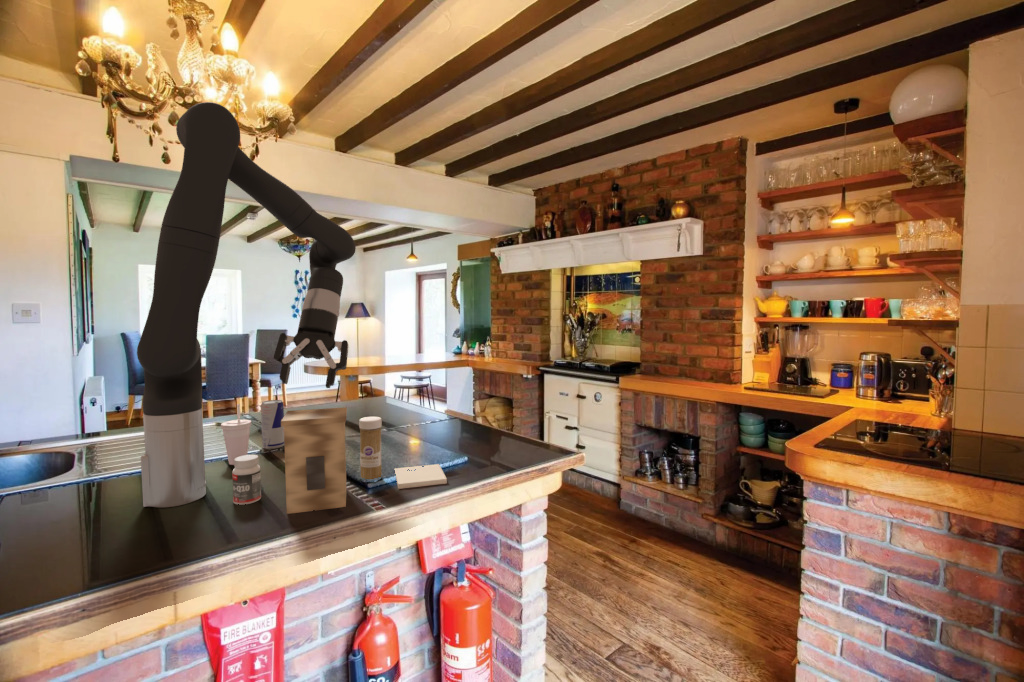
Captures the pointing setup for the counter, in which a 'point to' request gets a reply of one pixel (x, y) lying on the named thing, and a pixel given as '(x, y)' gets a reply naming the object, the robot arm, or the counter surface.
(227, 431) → the smoothie
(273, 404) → the energy drink
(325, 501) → the box
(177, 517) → the counter surface
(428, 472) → the tile
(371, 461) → the sprinkles bottle
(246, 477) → the pill bottle
